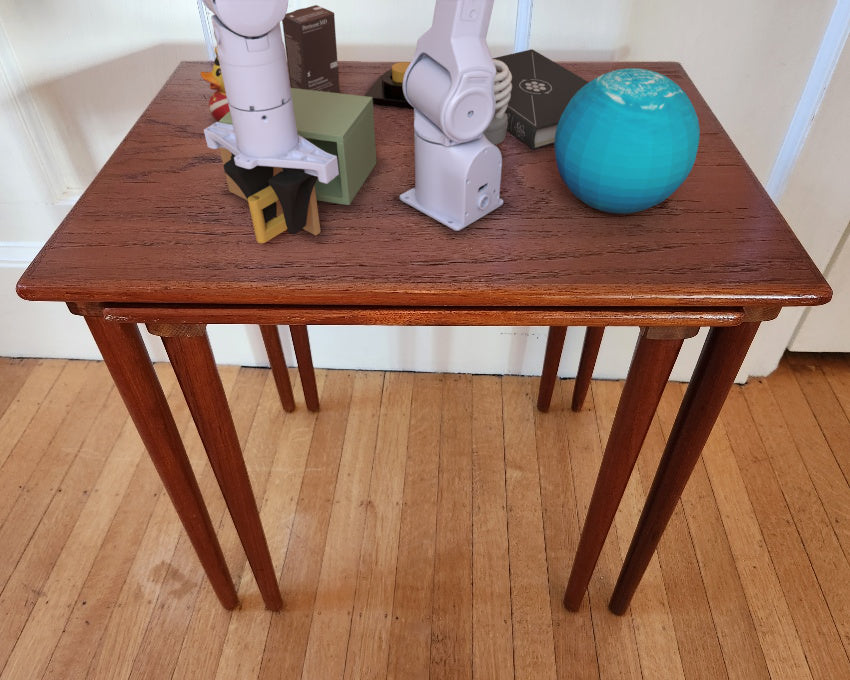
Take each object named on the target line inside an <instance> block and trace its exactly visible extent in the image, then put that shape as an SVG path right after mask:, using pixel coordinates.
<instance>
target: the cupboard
mask: <svg viewBox="0 0 850 680" xmlns="http://www.w3.org/2000/svg"><path fill="white" fill-rule="evenodd" d="M291 94H292V100H293V107H294V114H295V120H296V127H297V134H298V135H300V136H301V137H303V138H304V139H306V140H307V141H309V142H310V143H312V144H313V145H315V146H316V147H318V148H320V149H321V150H323V151H325V152H327V153H329V154H331V155H335V156H337V161H338V171H339V175H337V176H336V177H335V178H334V179H333V180H331V181H330V182H329V183H327V184H325V183H322V182H320V181H319V180H318V177H317V180H316V182H315V184H314V187H315V194H316V201H319V202H323V203H325V202H326V203H332V204H338V205H345V206H350V205H351V204H352V202H353V201H354V199H355V197H356V196H357V194H358V193H359V191H360V189H361V188H362V186H363V185H364V183H365V182H366V181H367V179H368V177H369V176H370V174H371V173H372V171H373V169H374V168H375V166H376V165H377V163H378V162H377V161H378V160H377V148H376V147H377V146H376V132H375V117H374V116H375V115H374V104H373V98H372V97H367V96H365V95H357V94H347V93H341V92H340V93H331V92H323V91H314V90H305V89H296V88H291ZM219 122H220V123H224V124H231V125H233V123H232V118H231V114H230V111H229V112H228V113H227V114H226V115H225V116H224V117H223V118H222V119H221V120H220V121H219Z"/></svg>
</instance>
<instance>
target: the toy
mask: <svg viewBox="0 0 850 680" xmlns="http://www.w3.org/2000/svg"><path fill="white" fill-rule="evenodd" d="M214 53H215V55H216V57H215V58H214V61H213V66H212V69H211V71H209V72H208V71H200V77H201V79H202V80H203V81H205V82H207V83H209V89H210V90H212V91H214V92H213V93H212V94H211V96H210V97H209V99H208V109H209V112H210V115H211V116H212V118H213V119H214V120H215V121H216V122H219V121H220V120H221V119H222V118H223V117H224V116H225V115H226V114H227V113H228V112H229V111H230V109H229V105H228V101H227V96H226V91H225V87H224V82H223V78H222V73H221V68H220V64H219V59H218V55H217V46H215V48H214Z"/></svg>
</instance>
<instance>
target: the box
mask: <svg viewBox="0 0 850 680" xmlns="http://www.w3.org/2000/svg"><path fill="white" fill-rule="evenodd" d="M281 23H282V31H283V39H284V47H285V53H286V60H287V67H288V74H289V80H290V87H291V88H296V89H305V90H314V91H323V92H331V93H340V94H341V90H340V77H339V65H338V64H339V63H338V50H337V49H338V47H337V38H336V37H337V35H336V32H337V31H336V21H335V12H333V11H331V10H330V9H327V8H324V7H322V6H320V5H318V4H314V5H312V6H311V5H310V6H308V7H304V8H303V7H302V8H299V9H295V10H293V11H291V12H286V15H285V17H284V19H283V20H282V21H281Z"/></svg>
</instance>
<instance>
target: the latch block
mask: <svg viewBox="0 0 850 680" xmlns="http://www.w3.org/2000/svg"><path fill="white" fill-rule="evenodd" d="M364 96H367V97H372V98H373V105H377V106H385V107H386V106H387V107H395V108H403V109H412V110H414V107H412V106H411V105H410V104H409V103H408V102H407V100H406V98H405V96H404V93H403V83H400V82H395V81H393V80H392V68H391V69H389V70H386V71H384V72H383V74H380V75H379V76H378V77H377V79H376V80H375V82H374V83H373V84H372V85H371V86H370V88H369V89H368V91H367V92H366V93H365V94H364Z"/></svg>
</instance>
